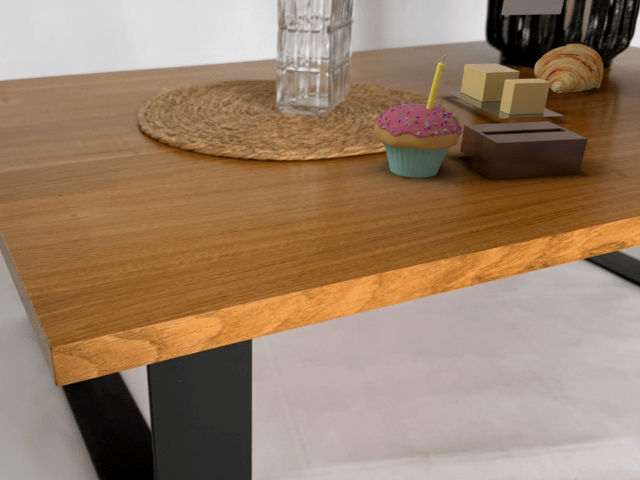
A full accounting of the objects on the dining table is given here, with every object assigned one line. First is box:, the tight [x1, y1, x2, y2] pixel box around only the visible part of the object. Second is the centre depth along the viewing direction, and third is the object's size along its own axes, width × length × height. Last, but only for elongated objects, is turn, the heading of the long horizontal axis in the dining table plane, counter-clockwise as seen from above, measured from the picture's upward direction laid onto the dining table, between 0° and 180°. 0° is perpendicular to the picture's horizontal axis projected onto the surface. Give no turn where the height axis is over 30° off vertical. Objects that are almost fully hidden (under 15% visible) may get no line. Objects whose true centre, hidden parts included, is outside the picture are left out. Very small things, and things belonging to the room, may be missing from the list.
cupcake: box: [373, 54, 463, 179], centre depth 69 cm, size 9×8×12 cm
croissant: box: [533, 42, 605, 94], centre depth 109 cm, size 21×10×8 cm, turn 154°
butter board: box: [446, 62, 565, 120], centre depth 94 cm, size 16×9×5 cm, turn 11°
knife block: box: [458, 120, 589, 180], centre depth 72 cm, size 10×7×4 cm
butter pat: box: [500, 78, 550, 115], centre depth 90 cm, size 2×5×4 cm, turn 102°
